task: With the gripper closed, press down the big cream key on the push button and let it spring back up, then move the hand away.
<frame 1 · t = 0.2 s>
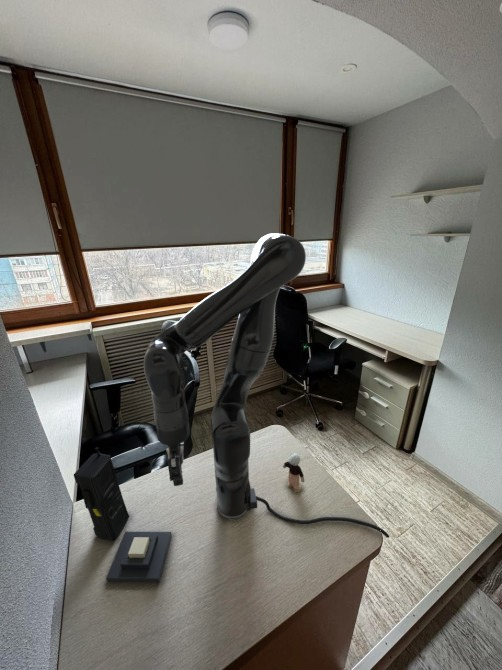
hand: (179, 469, 69), 17 cm above the table, tool pointing down, fingers open, 8 cm apart
push button: (141, 557, 66), on the table
grandmother figurine: (292, 486, 84), on the table
key: (139, 547, 64), point 4 cm above the table, slide at 0.1 cm
portable radio: (112, 528, 72), on the table
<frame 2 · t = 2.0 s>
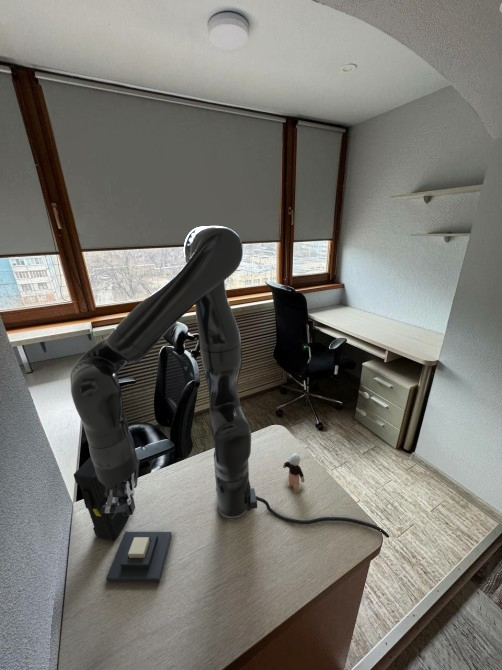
hand: (129, 511, 59), 17 cm above the table, tool pointing down, fingers closed
nothing on the table moved.
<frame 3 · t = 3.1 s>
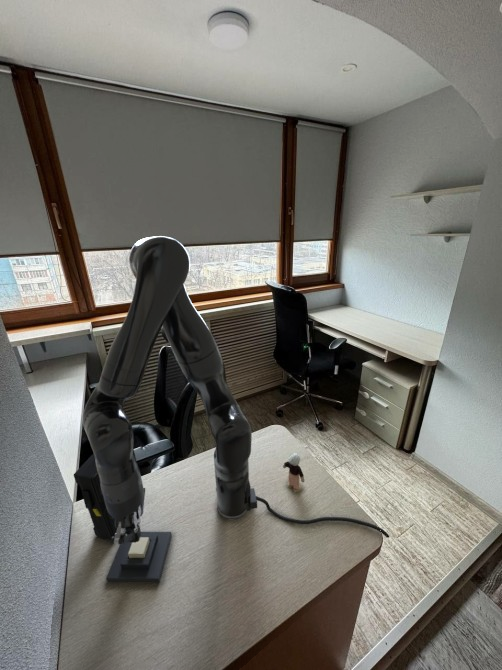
hand: (135, 538, 63), 7 cm above the table, tool pointing down, fingers closed
nothing on the table moved.
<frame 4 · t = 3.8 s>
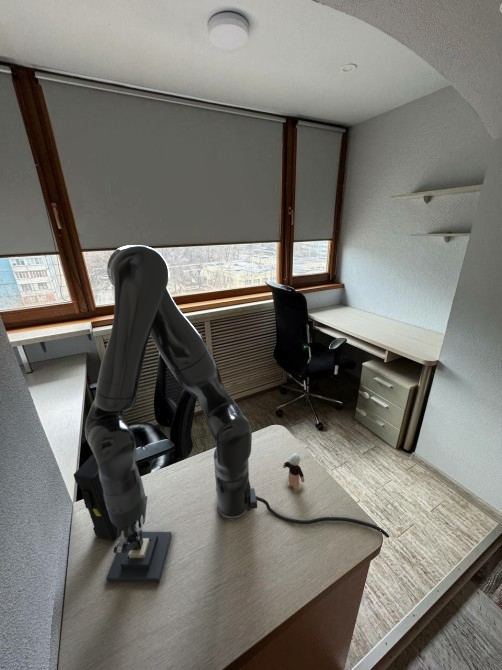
hand: (138, 545, 64), 5 cm above the table, tool pointing down, fingers closed
key: (139, 548, 64), point 4 cm above the table, slide at -0.3 cm, touching gripper
everything else where it was.
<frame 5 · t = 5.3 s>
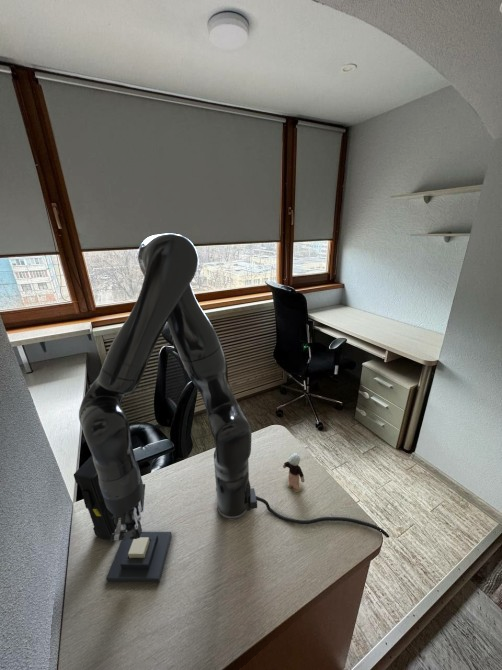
hand: (136, 534, 62), 9 cm above the table, tool pointing down, fingers closed
key: (139, 547, 64), point 4 cm above the table, slide at 0.1 cm
everything else where it was.
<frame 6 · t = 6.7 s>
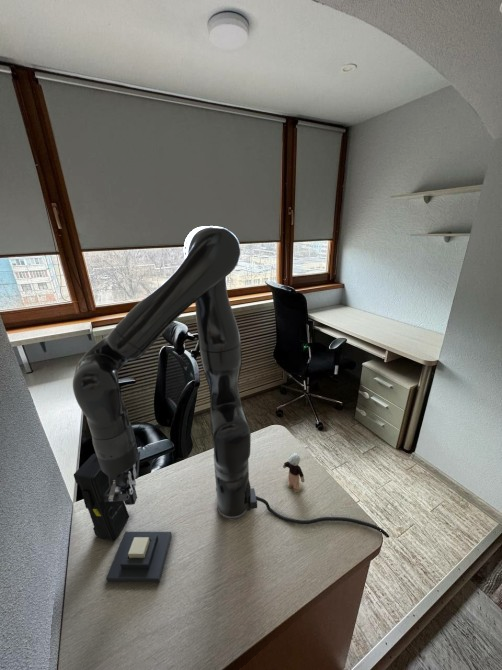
hand: (131, 501, 62), 16 cm above the table, tool pointing down, fingers closed
nothing on the table moved.
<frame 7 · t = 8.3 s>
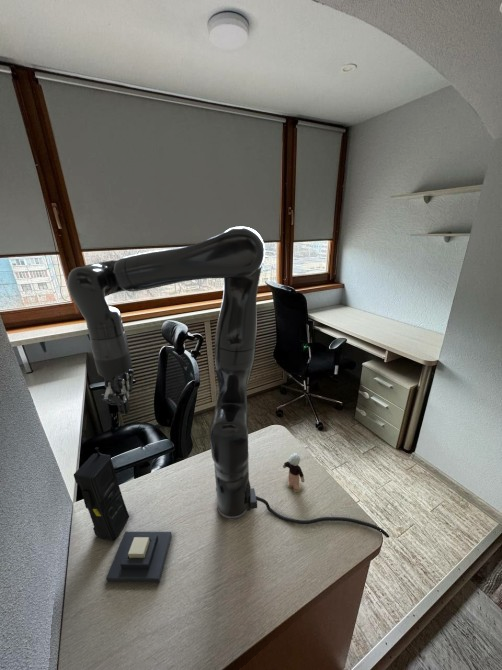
hand: (125, 412, 69), 31 cm above the table, tool pointing down, fingers closed
nothing on the table moved.
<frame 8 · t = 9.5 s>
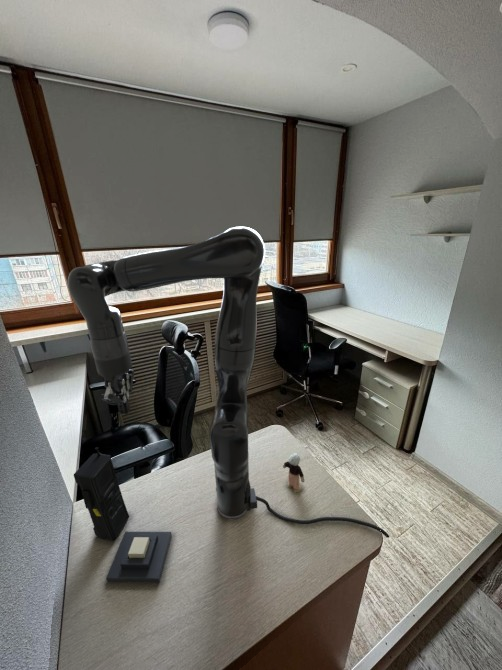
hand: (125, 412, 69), 31 cm above the table, tool pointing down, fingers closed
nothing on the table moved.
at the end: key pushed in 1.2 cm at the most during the clip, back to where it started at the end; key slide at 0.1 cm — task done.
